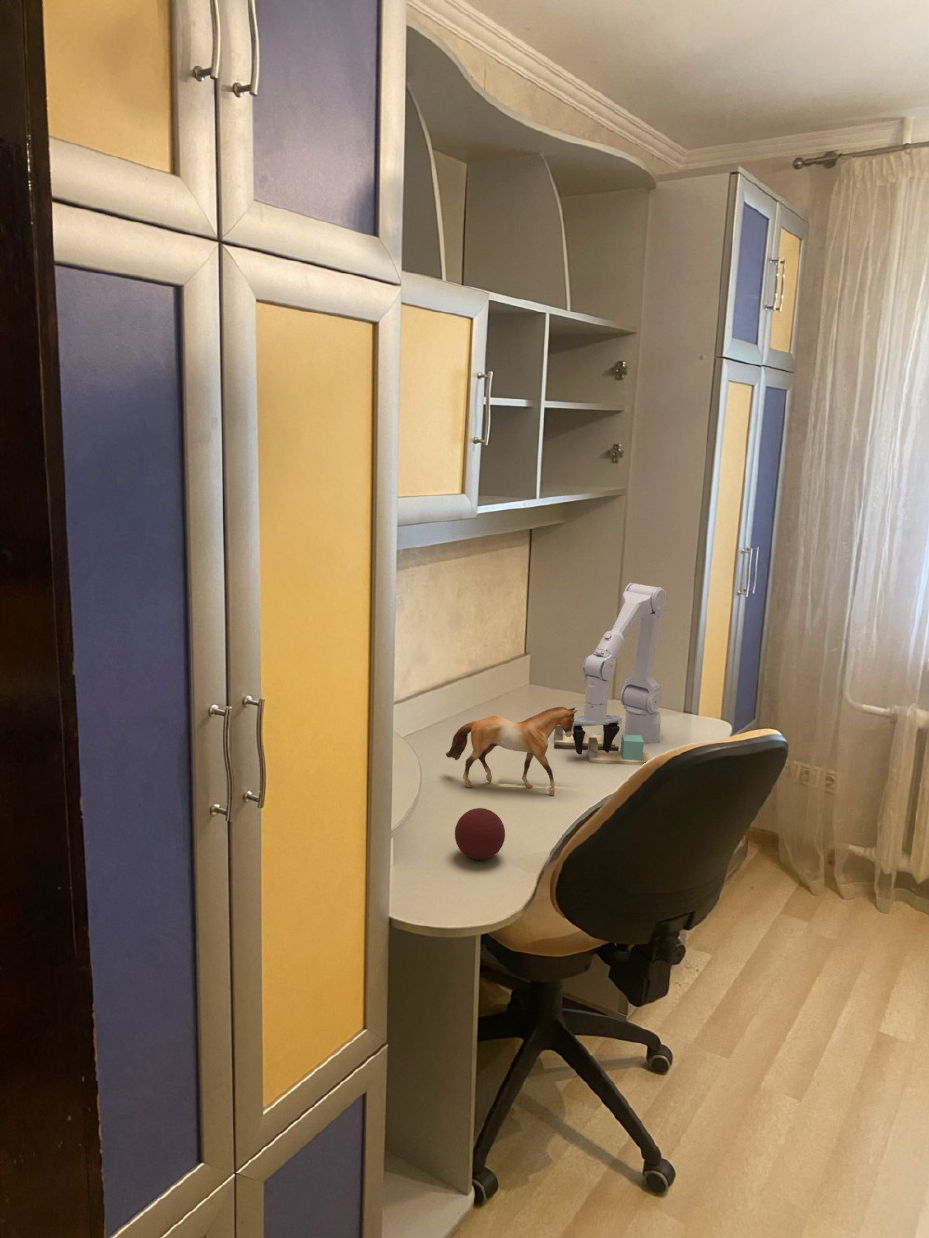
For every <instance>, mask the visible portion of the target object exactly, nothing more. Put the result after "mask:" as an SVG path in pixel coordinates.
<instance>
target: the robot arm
mask: <svg viewBox="0 0 929 1238" xmlns="http://www.w3.org/2000/svg"><path fill="white" fill-rule="evenodd" d="M667 597H668V595H667V593H666V591H665V590H664V588H663V587H660V586H659V587H657V586H652V585H646V584H641V583H636V582H630V583H628V584H627V586H626V587H625V589H624V591H623V593H622V607H621V609H620V611H619V614H618V616H617V618H616V620H615V622H614V624H613V627H612V628H611V630H608V631H606V632H604V634H603V636H602V638H601V639H600V641H599V642H598V644H597V646H596V648H595V649H594V650H593V653H591V654H590V655H588V656H586V658H585V659H584V661H583V664H582V667H581V671H582V673H583V682H584V683H585V691H584V692H585V693H584V709H583V715H581V716H576V717H574V722H573V738H574V742H575V747H576V750H575V753H577V754H578V755H582V754H583V751H584V750H583V740H584V736H585V735H586V730H585V729H584V727H593V726H602V728H603V729H602V730H603V735H604V739H603V750H604V751H605V752H609V750H610V747H611V744H612V742H613V740H614V741H615V737H616V735H618V733H619V732H620V730H621V729H620V727H621V726H622V722H623V717H622V716H621V715H620V714H619V715H617V714H616V715H613V714H610V715H609V714H607V711H608V698H609V697H608V696H609V684H610V683H609V682H610V680H611V678H612V677H613V676H614V673H615V670H616V665H617V662H618V661H617V659H618V657H619V655H620V653H621V651H623V650H622V649H623V648H624V646H625V644H626V641H625V635H626V634H627V633H628V632H629V630H630V629H631V627H632V625H633V624H634V623H635V621H636V620H637V619H638V617H640V624H639V631H638V632H639V633H638V638H637V645H636V652H635V658H634V659H635V661H634V667H633V674H632V675H631V676H629V677H628V678H626V679H624V682H623V686H622V689H621V690H620V691H621V692H620V695H619V696H620V697H619V699H620V703H621V705H622V706H623V710H625V721H624V731H623V732H624V733H623V735H641V736H642V739H643V741H644V744H660V737H661V735H660V734H661V728H662V727H661V724H662V722H661V720H662V719H661V717H662V716H661V713H660V711H658V710H659V708H660V706H661V700H662V698H661V697H662V696H661V684H660V683H659V682H657V680H656V679H655V678H654V677H653V675H654V667H655V661H656V655H657V654H656V653H657V648H658V647H657V646H658V639H659V634H660V633H659V632H660V627H661V619H662V618H663V617H665V612H666V608H667V607H666V605H667V600H668V599H667ZM620 725H621V726H620Z"/></svg>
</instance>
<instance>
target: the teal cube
mask: <svg viewBox="0 0 929 1238" xmlns="http://www.w3.org/2000/svg"><path fill="white" fill-rule="evenodd" d="M620 740H621V741H620V749H619V751H620V753H621V756H622V759H623V760H643V752H644V745H645V743H644V741H643V739H642V736H641V735H624V733H623V734H621V739H620Z"/></svg>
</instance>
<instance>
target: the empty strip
mask: <svg viewBox="0 0 929 1238" xmlns="http://www.w3.org/2000/svg"><path fill="white" fill-rule="evenodd" d="M553 732H554V733H553V739H554V743H559V744H575V742H574V738H573V735H572V736H571V737H567V736H566V735H565V733H564V730H563V728H562V727H561V726H560V725H557V726H556V728H555V729H554V730H553ZM589 737H595V738H597V741H598V745H602V746H603V739H604V734H603V735H602V734H601V735H599V734H585V736H584V740H583V745H588V741H589ZM611 746H616V742H615V739H614V740H613V742H612V744H611Z"/></svg>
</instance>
